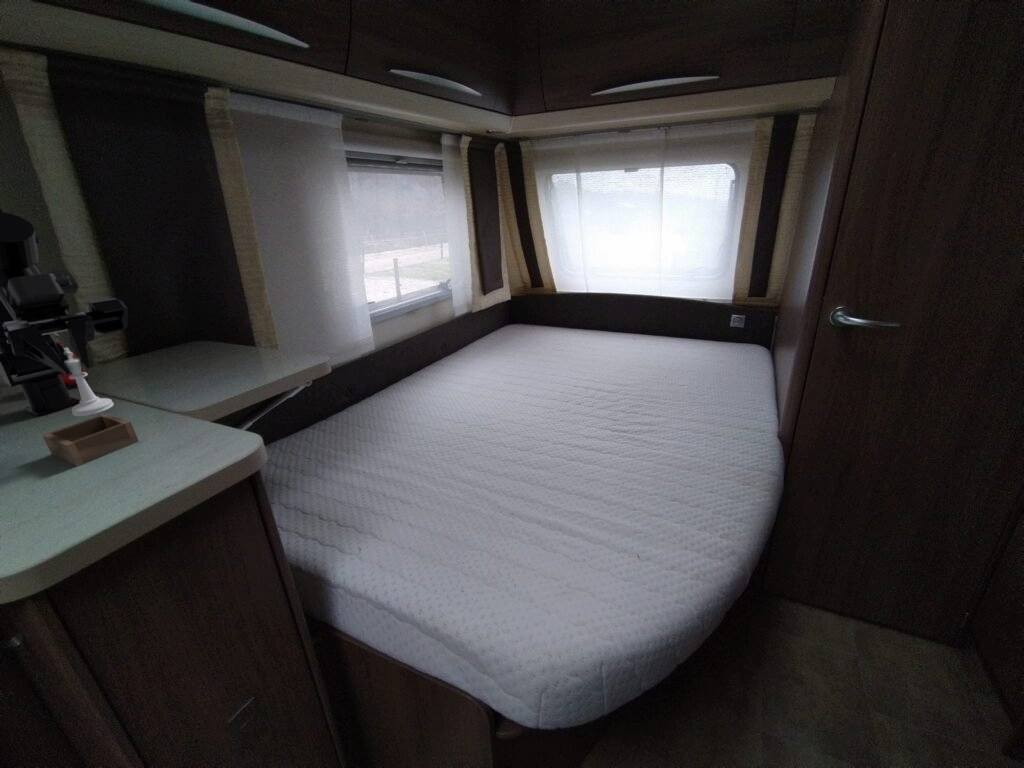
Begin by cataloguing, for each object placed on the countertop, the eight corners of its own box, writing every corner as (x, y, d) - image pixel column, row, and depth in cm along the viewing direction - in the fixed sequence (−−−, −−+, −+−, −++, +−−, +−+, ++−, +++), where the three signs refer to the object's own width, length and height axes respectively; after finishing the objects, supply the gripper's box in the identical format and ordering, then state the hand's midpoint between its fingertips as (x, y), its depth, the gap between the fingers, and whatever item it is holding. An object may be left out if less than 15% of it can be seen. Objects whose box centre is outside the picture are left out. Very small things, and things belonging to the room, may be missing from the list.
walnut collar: (52, 455, 69) (42, 435, 68) (112, 432, 76) (104, 413, 74) (77, 466, 66) (67, 445, 64) (138, 441, 72) (130, 421, 71)
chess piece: (81, 418, 67) (51, 355, 63) (66, 413, 69) (36, 351, 65) (120, 405, 71) (94, 344, 67) (104, 400, 73) (78, 341, 69)
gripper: (-89, 261, 55) (-25, 360, 54) (100, 246, 70) (154, 323, 68) (-66, 317, 63) (-9, 405, 61) (101, 292, 77) (150, 363, 75)
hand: (78, 371), depth 66 cm, fingers closed on chess piece
